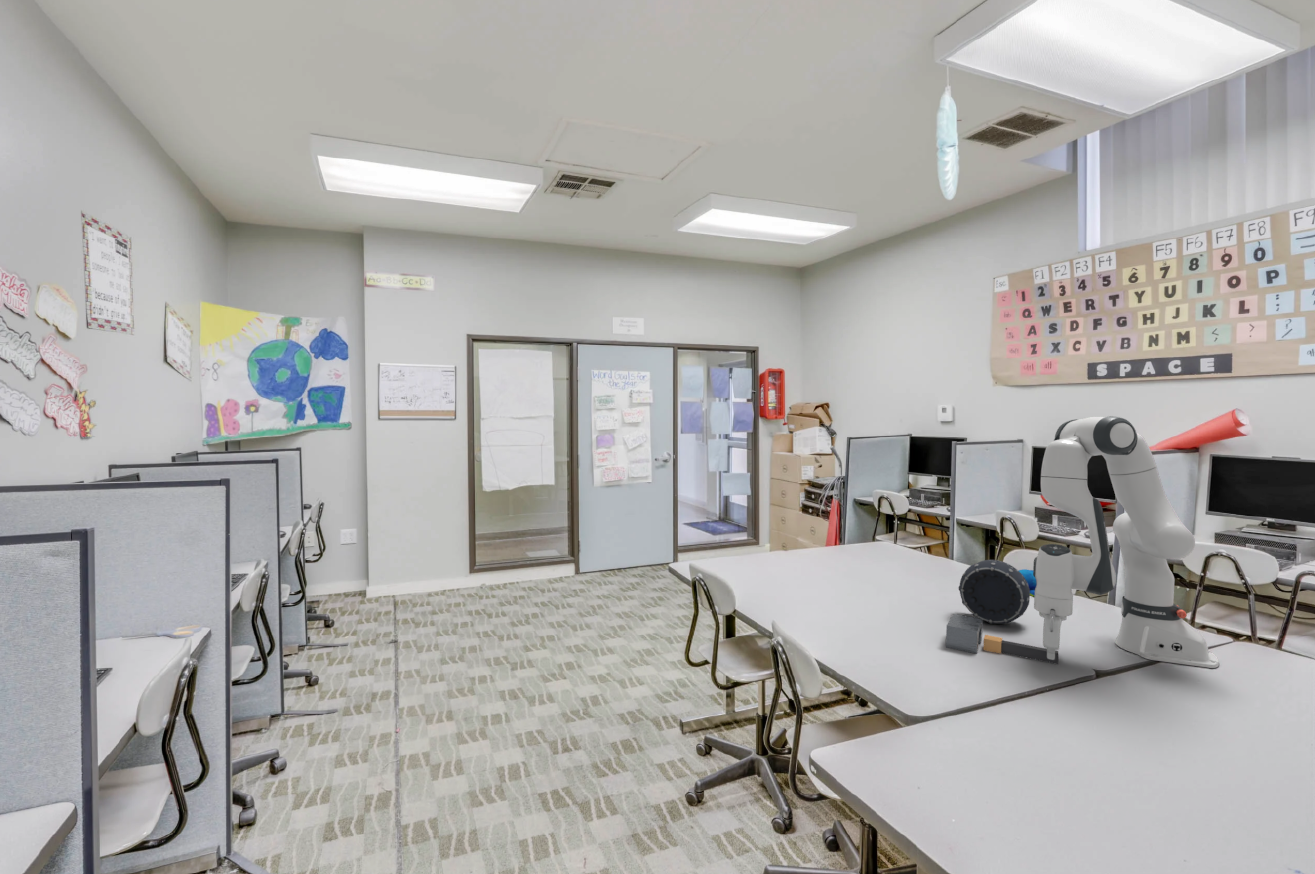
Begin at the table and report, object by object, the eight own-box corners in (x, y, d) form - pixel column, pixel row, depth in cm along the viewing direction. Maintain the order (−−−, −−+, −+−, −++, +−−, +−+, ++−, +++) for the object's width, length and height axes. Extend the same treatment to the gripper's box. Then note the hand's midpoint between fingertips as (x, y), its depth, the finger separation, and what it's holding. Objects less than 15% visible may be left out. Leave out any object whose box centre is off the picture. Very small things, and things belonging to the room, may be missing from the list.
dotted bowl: (1026, 633, 186) (1028, 569, 185) (955, 619, 199) (957, 559, 198) (1030, 623, 195) (1032, 562, 194) (962, 610, 207) (964, 553, 206)
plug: (1058, 660, 167) (1058, 648, 166) (1057, 665, 164) (1058, 653, 164) (984, 646, 177) (985, 634, 177) (983, 650, 174) (983, 638, 174)
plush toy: (1003, 594, 226) (1004, 572, 226) (1000, 582, 241) (1001, 562, 241) (1056, 601, 219) (1057, 578, 218) (1050, 588, 234) (1051, 567, 233)
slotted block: (982, 640, 181) (982, 619, 181) (976, 653, 171) (977, 631, 171) (952, 634, 185) (953, 613, 185) (946, 647, 176) (946, 625, 175)
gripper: (1066, 618, 155) (1064, 670, 156) (1067, 597, 172) (1065, 645, 173) (1037, 613, 159) (1035, 664, 159) (1041, 593, 175) (1039, 640, 176)
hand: (1051, 654), depth 166 cm, fingers open, 5 cm apart
